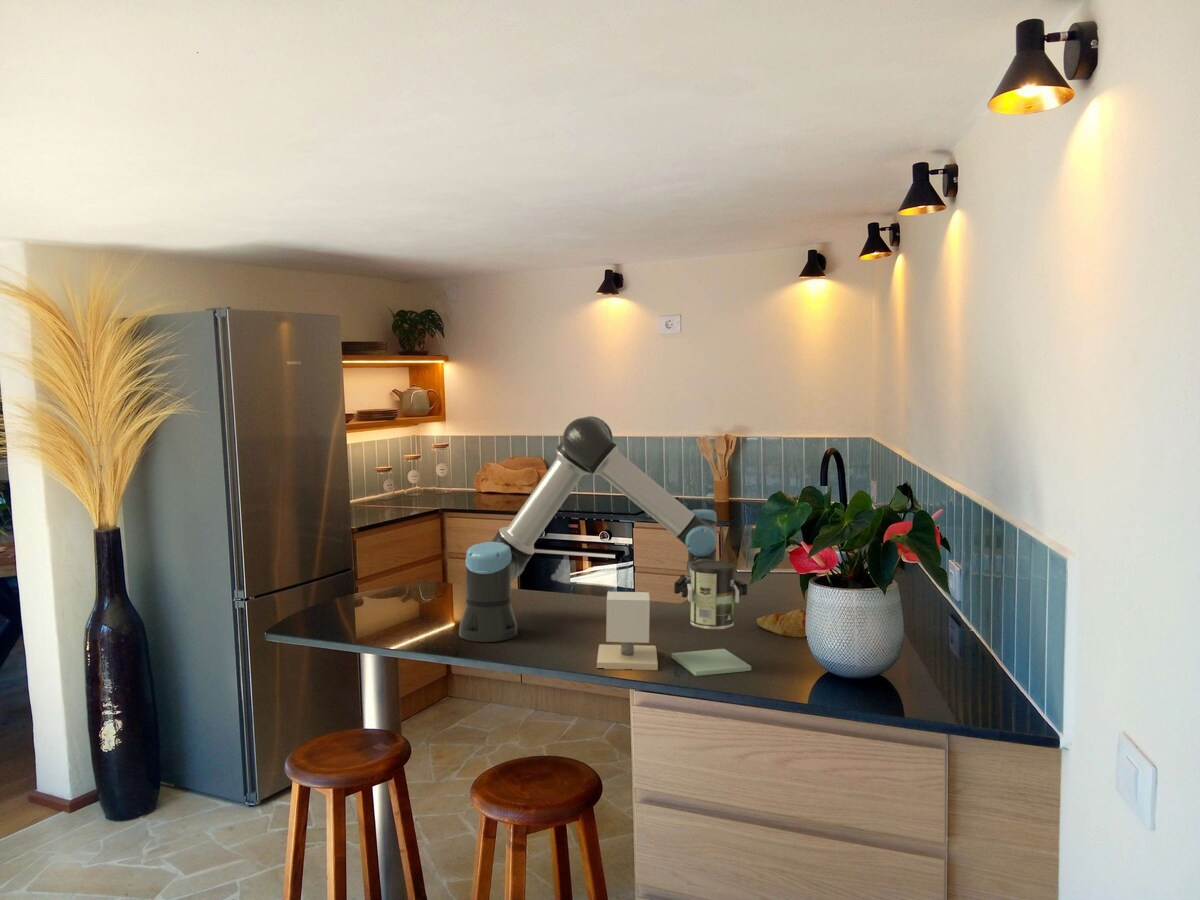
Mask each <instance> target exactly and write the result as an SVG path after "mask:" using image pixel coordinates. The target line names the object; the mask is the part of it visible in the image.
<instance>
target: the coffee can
mask: <svg viewBox="0 0 1200 900" xmlns="http://www.w3.org/2000/svg"><path fill="white" fill-rule="evenodd" d="M690 567H691V577H690V578H691V587H692V602H690V622H689V623H690V624H691V625H692V626H693V627H695V628H700V629H704V630H724V629H729V628H732V627H734V625H735V624H734V606H735V604H734V602H735V600H734V577H735V569H736V567H735V564H734V563H731V562H728V561H720V560H716V561H698V562H693V563H691V565H690Z"/></svg>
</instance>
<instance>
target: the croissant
mask: <svg viewBox="0 0 1200 900" xmlns="http://www.w3.org/2000/svg"><path fill="white" fill-rule="evenodd" d="M805 615H806V611H805V610H803V609H800V608H798V609H792V610H791V611H789V612H781V611H780V612H776V613H774V614H766V615H763V616H762V617H757V619H756V623H757V625H758V626H760V627H761V628H762V629H764V630H766V631H768V632H772V633H774V634H776V635H780V636H784V637H785V636H787V637H791V636H792V637H793V638H806V637H805ZM792 637H791V638H792Z"/></svg>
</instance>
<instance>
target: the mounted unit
mask: <svg viewBox="0 0 1200 900" xmlns="http://www.w3.org/2000/svg"><path fill="white" fill-rule="evenodd" d="M650 600H651V599H650V592H649V591H648V592H647V591H646V592H644V591H642V592H641V591H607V595H606V620H605V621H606V624H605V625H606V627H605V628H606V629H605V633H606V635H605V639H606V640H605V642H606V643H608V642H609V643H620V644H601V643H600V644H599V645H598V652H597V658H596V669H597V668H604V669H603V670H625V669H632V671H633V670H634V671H658V669H659V668H658V667H659V666H658V665H659V664H658V654H657V653H658V652H657V647H656V646H657V645H643V644H644V643H645V644H649V643H650V615H651V614H650V612H651V611H650V606H651V605H650V603H651V602H650ZM635 643H643V644H642V645H641V644H639V645H637V644H635Z"/></svg>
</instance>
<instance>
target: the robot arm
mask: <svg viewBox="0 0 1200 900" xmlns="http://www.w3.org/2000/svg"><path fill="white" fill-rule="evenodd" d="M613 439H614V438H613V433H612V429H611V428H610V426H609V424H607V423H606V422H605V421H604V419H600V418H599V417H597V416H591V415H589V416H585V417H580V418H576V419H574V420H572V421H570V422H569V424H568V425H567V426H566V427H565V429H564V432H563V434H562V440H561V442H559V444H558V446H557V447H556V449H555V451H556V458H555V460H554V461H553V463H552V464H551V465H550V467H549V468H548V470H547V471H546V473H545V474H544V475H543V477H542V478H541V480H540V481H539V483H538V484H536V486H535V488H534V489H533V491H532V492H531V493H530V495H529V497H528V498H527V499H526V500H525V502H524V503H523V505H522V506H521V508H520V509H519V511H518V512H517V514H516V515H515V516H514V518H513V519H512V521H511V522H510V524H509V525H508V526H505V527H500V528H499V529H498V531H497V533H495V535H494V536H493V538H492V539H491V541H483V542H480V543H475V544H473V545H471V546H470V547H469V548H468V549H467V550H466V554H465V557H466V558H465V561H464V562H465V608H464V611H463V614H462V617H461V620H460V623H459V626H458V627H459V628H458V635H459V637H460V638H461V639H463V640H466V641H469V642H476V643H495V642H502V641H507V640H511V639H513V638H515V637H516V636H517V635H518V624H517V620H516V617H515V614H514V611H513V607H512V603H511V600H512V597H511V596H512V594H511V593H512V588H511V587H512V582H513V581H514V580H516V579H517V578H518V577H520V576H521V575H522V573H524V571H525V568H526V567H527V563H528V562H529V561H530V559H532V556H533V555H534V554H535V551H536V550H535V543H536V542H537V540H538V539H539V538H540V536H541V534H542V533H543V532H544V531H545V529H546V528H547V526H548V525H549V523H550V522H551V521H552V520H553V518H554V516H555V515H556V514H557V512H558V511H559V509H560V508H561V507H562V506H563V503H564V502H565V501H566V499H567V498H568V496H570V494H571V493H572V491H573V490H574V488H575V487H576V486H577V484H578V483H579V481H580V480H581V478H582V477H584V476H586V475H591V474H592V475H594V476H598V475H599V476H601V477H602V478H603V479H604V480H606V481H607V483H609V484H610V485H612V487H613V488H615V489H616V490H618V491H619V492H620V493H622V494H623V495H624V496H625V497H627V498H628V499H629V500H630V501H632V502H633V504H635V505H636V506H638V508H640V509H641V510H643V511H644V513H646V514H647V515H649V516H650V517H651V518H652V519H654V521H656V522H657V523H658V524H659V525H661V526H662V527H663V528H664V529H666V530H667V531H668V532H669V533H670V534H672V535H673V536H674V537H675V538H676V539H677V540H678V541H680V542H681V543H682V544H684V545H685V547H686V549H687V562H686V570H687V572H688V575H689V577H690V578H688V576H687V575H684V574H680V575H679V578H678V579H677V580H676V581H675V582H674V584H673V585H674V589H673V590H674V594H675V595H677V594H680V593H681V598H687V600H688V602H689V603H691V602H692V587H691V567H690V565H691V563H693V562H698V561H717V545H718V544H717V543H718V537H717V536H718V535H717V533H718V532H717V531H718V528H717V525H718V521H717V512H716V511H715V510H713V509H705V508H704V509H703V508H702V509H700V508H699V509H692V510H690V509H689V508H687V507H686V506H685V505H684V504H683V503H682V502H680V501H679V500H678V499H677V498H676V497H674V496H673V495H672V494H670V493H669V492H668V491H667V490H666V489H665V488H663V487H662V486H661V485H660V484H658V483H657V482H656V481H655V480H654V479H652V478H651V477H650V476H648V475H647V474H646V473H645V472H644V471H643V470H641V469H640V468H639V467H638V466H637V465H635V463H633V462H632V461H631V460H630V459H628V458H627V457H626V456H624V455H623V454H622V453H620V451H619V446H618V445H617V444H616V443H615V442H614V441H613ZM747 595H748V584H747V583H746V582H744V581H742V580H740V579H738V578H736V576H734V602H735V603H736V604H739V603H740V597H741V598H742V597H743V596H747Z"/></svg>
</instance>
